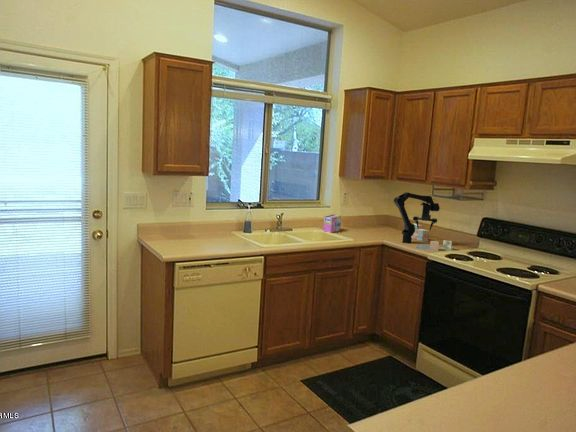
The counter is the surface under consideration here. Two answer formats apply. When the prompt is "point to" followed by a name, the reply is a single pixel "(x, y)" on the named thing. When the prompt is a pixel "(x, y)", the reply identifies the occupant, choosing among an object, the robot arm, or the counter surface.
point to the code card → (424, 247)
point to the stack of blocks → (420, 233)
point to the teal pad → (447, 249)
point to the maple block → (447, 244)
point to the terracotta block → (434, 245)
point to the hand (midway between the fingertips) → (424, 229)
